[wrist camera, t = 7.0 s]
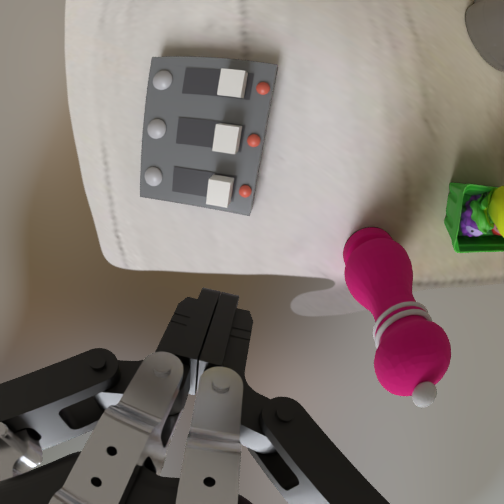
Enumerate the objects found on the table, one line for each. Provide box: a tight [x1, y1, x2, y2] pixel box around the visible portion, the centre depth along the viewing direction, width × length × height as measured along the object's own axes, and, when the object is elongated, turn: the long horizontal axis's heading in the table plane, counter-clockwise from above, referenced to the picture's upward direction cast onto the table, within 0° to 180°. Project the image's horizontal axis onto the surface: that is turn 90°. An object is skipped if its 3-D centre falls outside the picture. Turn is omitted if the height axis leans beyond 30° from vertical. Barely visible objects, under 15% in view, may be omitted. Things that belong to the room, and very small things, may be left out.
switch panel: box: [140, 57, 277, 216], centre depth 25 cm, size 15×12×2 cm
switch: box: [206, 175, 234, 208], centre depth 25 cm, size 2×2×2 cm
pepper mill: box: [343, 227, 451, 407], centre depth 21 cm, size 7×7×20 cm
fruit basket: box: [444, 183, 504, 253], centre depth 20 cm, size 11×9×11 cm
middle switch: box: [212, 123, 242, 154], centre depth 23 cm, size 2×2×2 cm
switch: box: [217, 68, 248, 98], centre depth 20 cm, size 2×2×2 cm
